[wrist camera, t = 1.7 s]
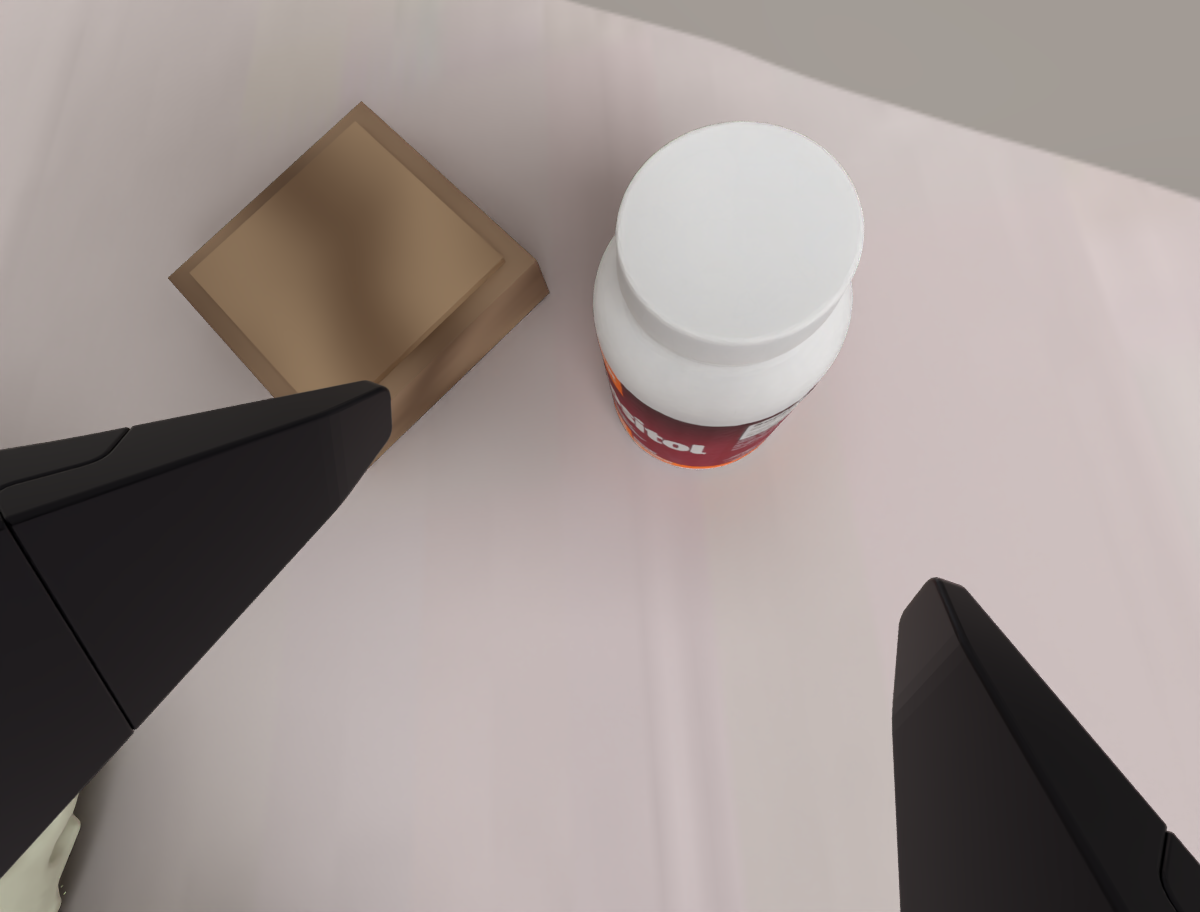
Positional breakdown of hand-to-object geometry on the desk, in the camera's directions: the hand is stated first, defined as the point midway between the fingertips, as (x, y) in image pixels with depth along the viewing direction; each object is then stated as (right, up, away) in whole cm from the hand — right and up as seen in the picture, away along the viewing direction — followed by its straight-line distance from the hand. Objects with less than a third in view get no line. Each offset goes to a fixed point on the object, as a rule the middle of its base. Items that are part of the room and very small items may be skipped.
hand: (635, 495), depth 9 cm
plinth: (-10, +7, +14) cm, 19 cm away
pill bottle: (+3, +3, +13) cm, 13 cm away
